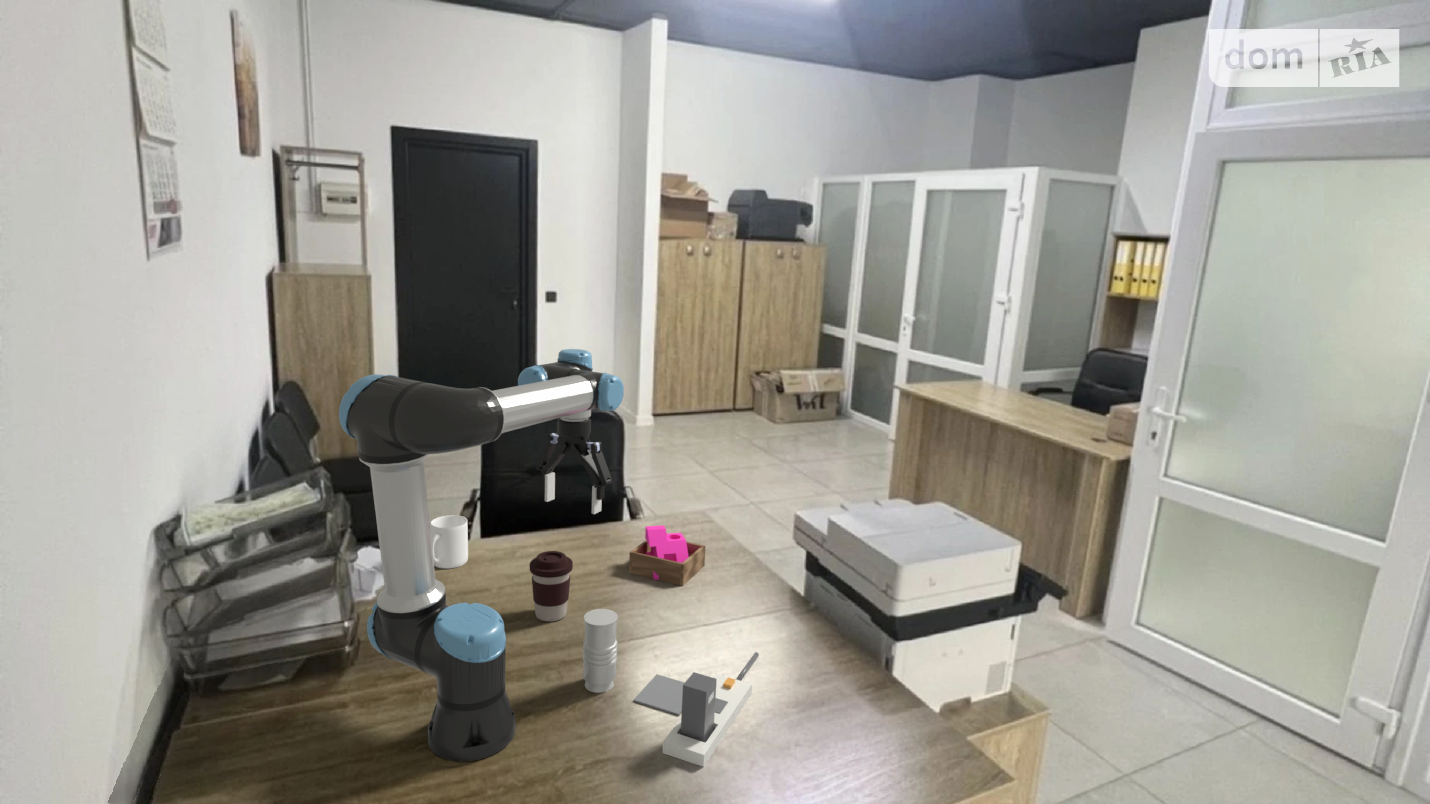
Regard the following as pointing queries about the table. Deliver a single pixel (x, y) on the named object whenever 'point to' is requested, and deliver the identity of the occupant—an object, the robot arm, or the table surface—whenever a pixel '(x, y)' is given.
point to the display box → (667, 564)
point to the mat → (662, 694)
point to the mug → (449, 541)
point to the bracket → (666, 545)
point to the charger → (698, 707)
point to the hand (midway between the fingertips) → (572, 506)
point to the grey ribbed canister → (600, 650)
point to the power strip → (727, 708)
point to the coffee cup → (551, 584)
